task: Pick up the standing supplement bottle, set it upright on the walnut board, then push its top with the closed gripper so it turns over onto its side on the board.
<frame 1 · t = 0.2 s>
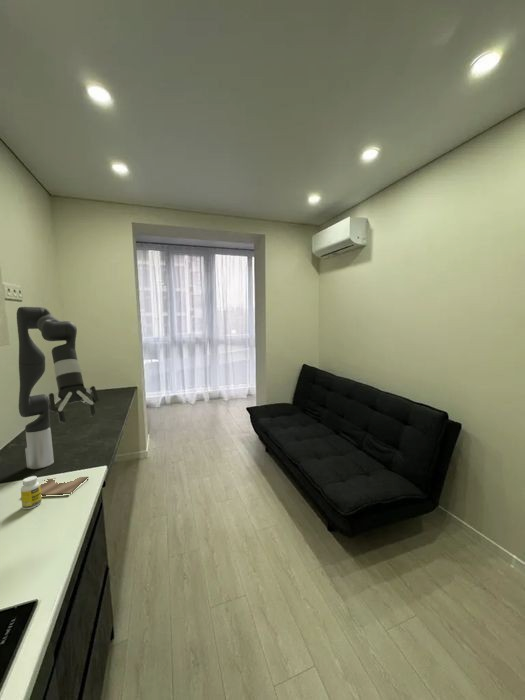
hand: (78, 419, 99), 31 cm above the countertop, tool tilted 20°, fingers open, 8 cm apart
supplement bottle: (32, 505, 103), on the countertop
walnut board: (56, 488, 114), on the countertop
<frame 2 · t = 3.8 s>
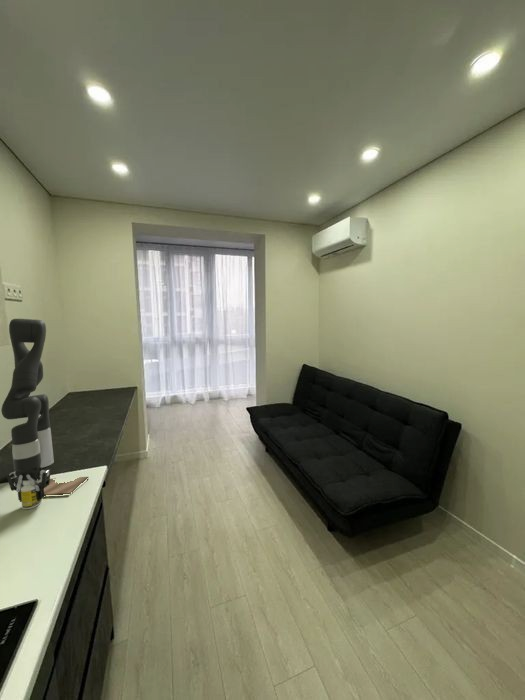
hand: (31, 499, 103), 2 cm above the countertop, tool pointing down, fingers closed on supplement bottle, 5 cm apart
supplement bottle: (32, 505, 103), on the countertop, touching gripper
when the fingers open (5 cm above the countertop, at t = 9.1 s): supplement bottle drops 1 cm, resting on walnut board.
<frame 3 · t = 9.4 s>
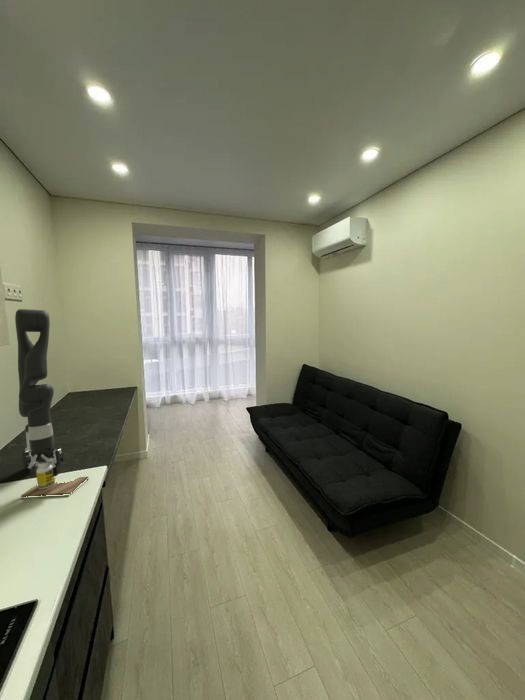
hand: (45, 476, 114), 5 cm above the countertop, tool pointing down, fingers open, 8 cm apart
supplement bottle: (46, 486, 114), point 1 cm above the countertop, touching walnut board
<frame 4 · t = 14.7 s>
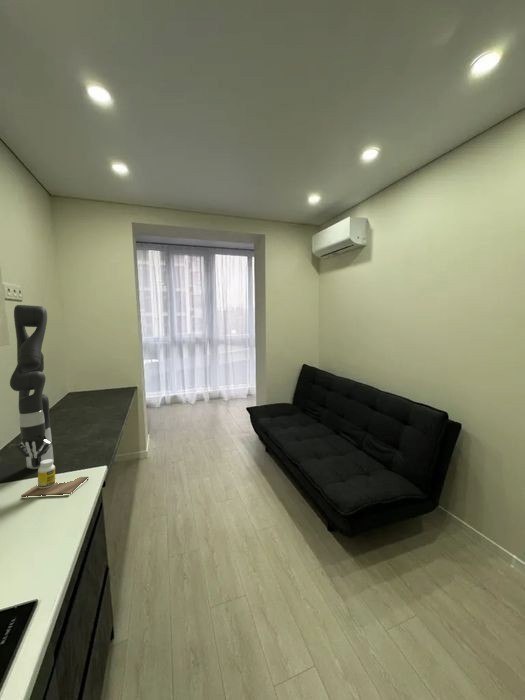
hand: (36, 466, 113), 9 cm above the countertop, tool pointing down, fingers closed
supplement bottle: (46, 485, 114), point 1 cm above the countertop, touching gripper, walnut board
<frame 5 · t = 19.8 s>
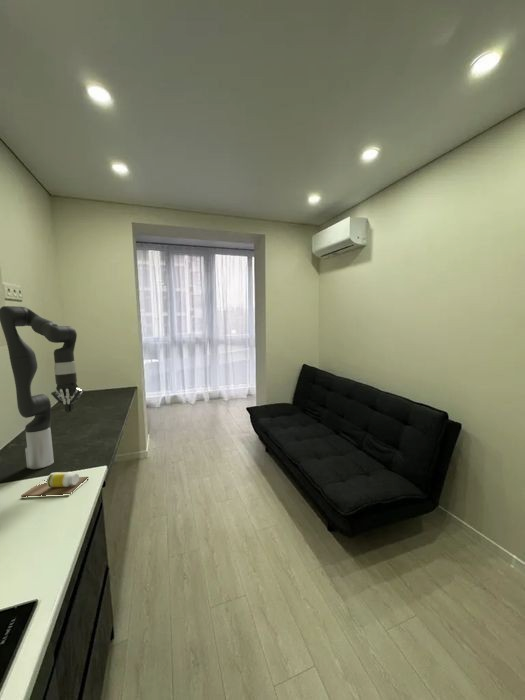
hand: (69, 412, 125), 27 cm above the countertop, tool pointing down, fingers closed
supplement bottle: (51, 479, 113), point 4 cm above the countertop, touching walnut board
at the end: supplement bottle tilted 90°; supplement bottle inside the target area (3.5 cm from its centre), point 3.9 cm above the countertop; the gripper is holding nothing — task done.
